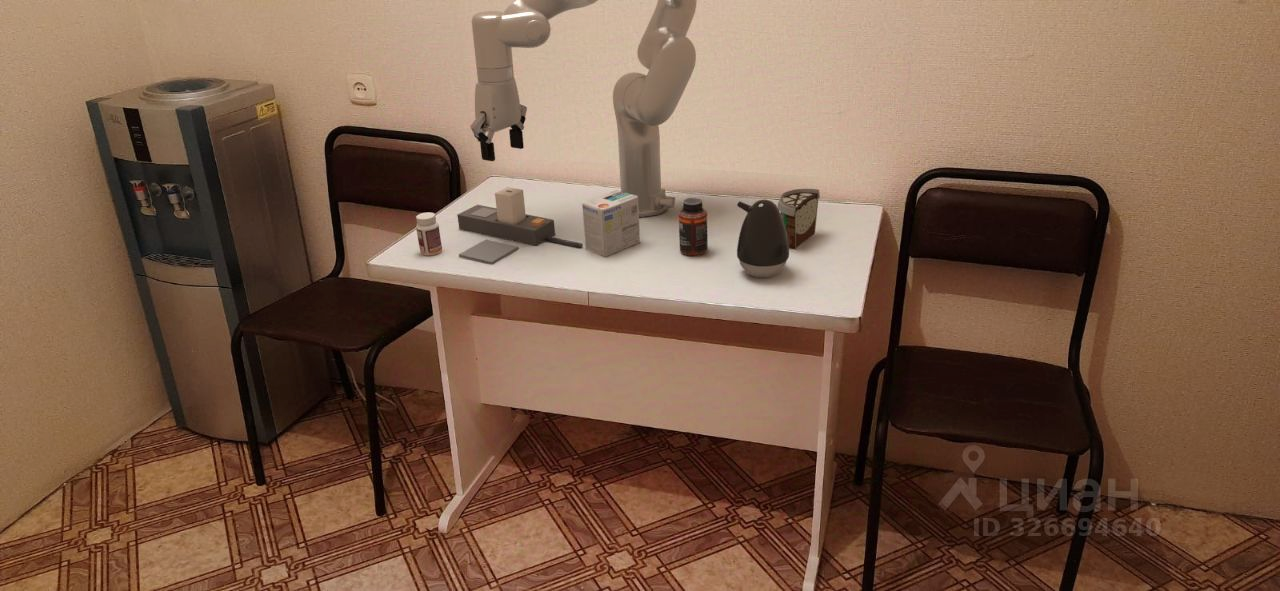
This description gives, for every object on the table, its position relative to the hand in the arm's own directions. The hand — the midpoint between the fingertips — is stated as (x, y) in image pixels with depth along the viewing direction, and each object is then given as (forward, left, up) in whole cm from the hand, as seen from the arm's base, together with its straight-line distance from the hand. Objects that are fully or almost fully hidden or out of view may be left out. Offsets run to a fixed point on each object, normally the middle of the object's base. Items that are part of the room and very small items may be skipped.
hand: (503, 153), depth 194 cm
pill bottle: (+10, +16, -19) cm, 26 cm away
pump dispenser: (-58, -6, -19) cm, 62 cm away
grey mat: (-2, +11, -19) cm, 22 cm away
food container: (-57, -24, -19) cm, 65 cm away
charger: (0, 0, -17) cm, 17 cm away
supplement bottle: (-41, -9, -19) cm, 46 cm away
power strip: (-3, 0, -19) cm, 19 cm away
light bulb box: (-24, -4, -19) cm, 31 cm away
